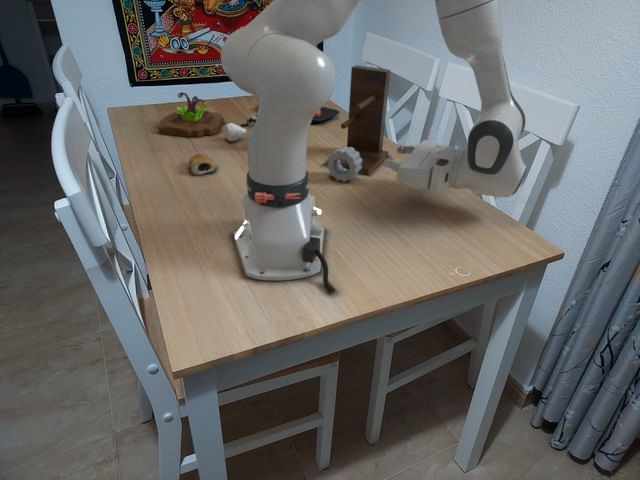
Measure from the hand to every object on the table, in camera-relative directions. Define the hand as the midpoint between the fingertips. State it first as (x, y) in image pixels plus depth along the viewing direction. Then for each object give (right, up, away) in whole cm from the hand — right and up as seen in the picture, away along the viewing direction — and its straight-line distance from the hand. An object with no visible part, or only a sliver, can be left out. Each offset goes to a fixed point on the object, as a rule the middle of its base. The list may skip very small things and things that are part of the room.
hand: (391, 155), depth 109 cm
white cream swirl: (-43, +10, +31) cm, 54 cm away
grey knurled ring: (-11, -4, +10) cm, 15 cm away
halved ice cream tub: (-32, +7, +26) cm, 42 cm away
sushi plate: (-30, +22, +48) cm, 61 cm away
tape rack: (-6, +2, +19) cm, 20 cm away
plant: (-60, +17, +40) cm, 74 cm away
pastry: (-49, -2, +12) cm, 51 cm away
